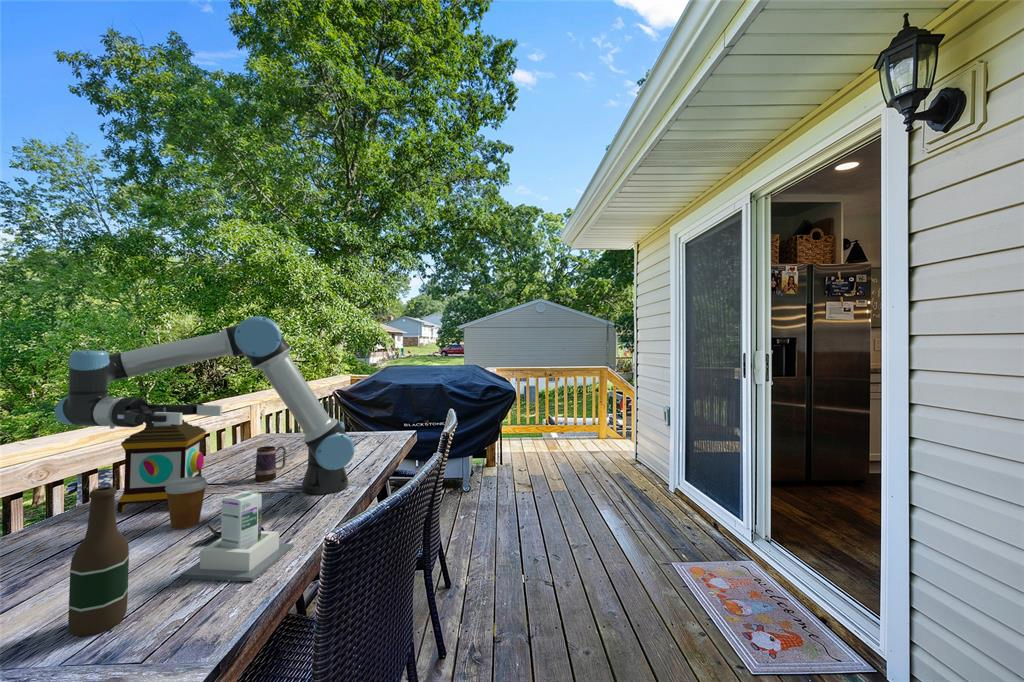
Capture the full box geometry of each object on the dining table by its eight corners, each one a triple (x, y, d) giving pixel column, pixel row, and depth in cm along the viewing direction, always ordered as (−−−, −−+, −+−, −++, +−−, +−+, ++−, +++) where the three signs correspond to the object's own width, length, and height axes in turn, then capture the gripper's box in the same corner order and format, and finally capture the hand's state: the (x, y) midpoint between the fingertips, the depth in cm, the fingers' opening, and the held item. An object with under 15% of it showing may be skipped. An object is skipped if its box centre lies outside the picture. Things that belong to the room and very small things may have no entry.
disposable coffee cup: (183, 533, 118) (185, 487, 118) (154, 529, 120) (155, 484, 120) (214, 520, 127) (215, 477, 127) (186, 516, 129) (187, 475, 129)
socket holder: (231, 545, 112) (232, 525, 112) (293, 548, 111) (294, 528, 111) (180, 578, 96) (180, 554, 96) (252, 582, 95) (253, 558, 95)
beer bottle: (93, 611, 83) (98, 482, 84) (138, 610, 84) (142, 482, 84) (54, 639, 76) (59, 496, 76) (103, 637, 76) (108, 495, 77)
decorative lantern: (211, 489, 153) (214, 402, 154) (190, 510, 134) (193, 410, 135) (140, 494, 147) (143, 403, 147) (108, 516, 128) (111, 411, 128)
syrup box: (239, 566, 99) (241, 500, 99) (219, 561, 101) (221, 497, 101) (261, 555, 105) (263, 492, 105) (242, 551, 107) (244, 489, 107)
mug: (254, 483, 161) (255, 449, 162) (253, 478, 167) (254, 445, 168) (286, 479, 167) (287, 446, 167) (284, 474, 173) (285, 443, 173)
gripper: (163, 419, 128) (234, 421, 127) (72, 436, 103) (160, 439, 102) (164, 392, 128) (235, 394, 127) (73, 403, 103) (161, 406, 102)
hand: (202, 414), depth 114 cm, fingers open, 13 cm apart
